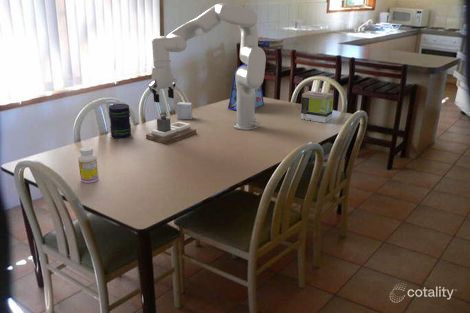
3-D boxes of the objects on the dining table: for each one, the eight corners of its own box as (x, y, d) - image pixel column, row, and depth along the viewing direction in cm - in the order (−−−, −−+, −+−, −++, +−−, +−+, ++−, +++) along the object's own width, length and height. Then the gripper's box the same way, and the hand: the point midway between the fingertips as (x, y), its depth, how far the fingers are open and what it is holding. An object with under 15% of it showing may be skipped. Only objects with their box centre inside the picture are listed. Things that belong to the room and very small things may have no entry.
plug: (170, 132, 220) (170, 115, 217) (165, 134, 217) (164, 117, 214) (163, 130, 223) (162, 113, 220) (157, 132, 220) (156, 115, 217)
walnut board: (196, 133, 229) (196, 129, 228) (166, 144, 213) (166, 140, 212) (176, 128, 236) (176, 124, 236) (146, 138, 221) (145, 134, 220)
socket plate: (190, 128, 229) (190, 124, 228) (163, 138, 215) (163, 133, 214) (175, 125, 234) (175, 120, 234) (148, 134, 220) (148, 129, 219)
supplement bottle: (83, 176, 177) (79, 145, 172) (100, 176, 177) (97, 145, 173) (79, 183, 171) (75, 151, 166) (97, 183, 171) (93, 151, 166)
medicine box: (192, 117, 255) (192, 102, 252) (191, 119, 251) (190, 104, 248) (178, 117, 256) (178, 102, 253) (177, 119, 252) (176, 104, 249)
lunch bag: (246, 113, 265) (247, 63, 255) (227, 109, 272) (227, 61, 262) (264, 105, 282) (266, 58, 272) (246, 102, 289) (246, 56, 279)
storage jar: (124, 131, 231) (122, 102, 226) (135, 135, 225) (133, 106, 219) (107, 135, 225) (104, 106, 219) (117, 140, 218) (115, 110, 213)
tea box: (332, 119, 254) (334, 93, 249) (325, 123, 246) (327, 97, 241) (307, 115, 262) (309, 90, 256) (300, 119, 254) (301, 93, 248)
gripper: (168, 60, 218) (170, 95, 224) (142, 65, 205) (145, 102, 211) (180, 62, 214) (182, 97, 220) (154, 67, 201) (156, 104, 207)
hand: (164, 99), depth 216 cm, fingers open, 9 cm apart
